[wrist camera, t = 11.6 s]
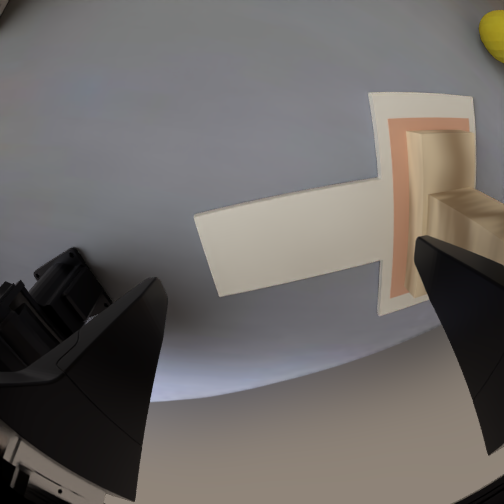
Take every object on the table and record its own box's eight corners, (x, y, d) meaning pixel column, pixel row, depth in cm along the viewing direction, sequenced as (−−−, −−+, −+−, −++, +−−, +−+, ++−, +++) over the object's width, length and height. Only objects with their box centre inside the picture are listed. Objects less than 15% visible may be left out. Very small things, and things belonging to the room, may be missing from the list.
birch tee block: (404, 286, 24) (479, 390, 12) (405, 131, 17) (553, 178, 6) (450, 270, 23) (527, 355, 12) (458, 129, 17) (586, 173, 5)
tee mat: (238, 345, 26) (238, 350, 26) (170, 126, 17) (167, 127, 16) (457, 284, 25) (461, 287, 25) (468, 96, 16) (473, 97, 15)
